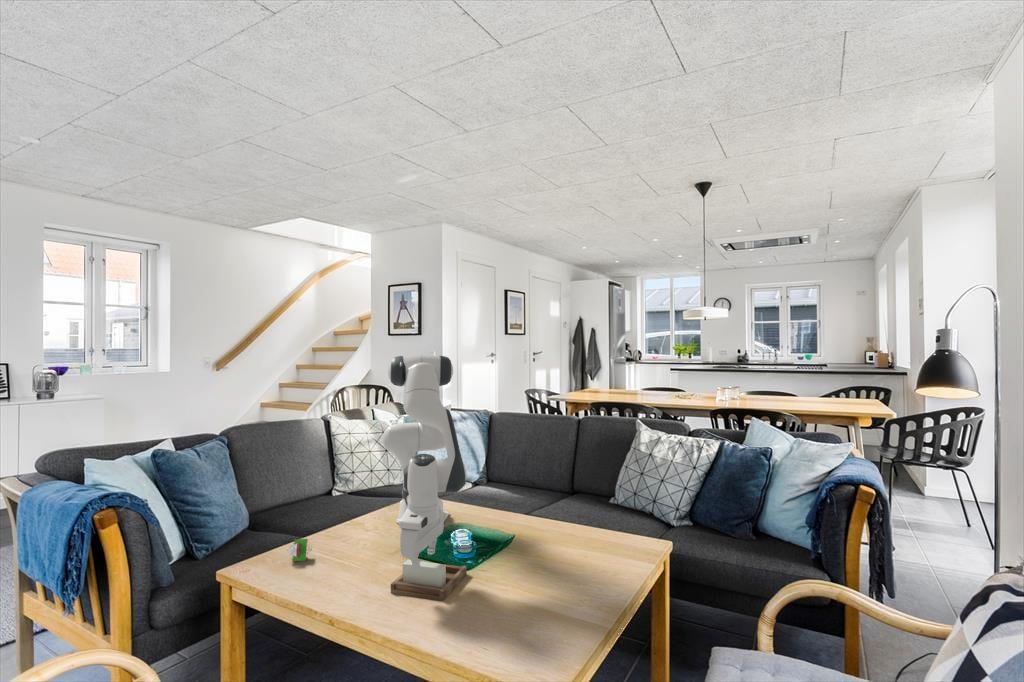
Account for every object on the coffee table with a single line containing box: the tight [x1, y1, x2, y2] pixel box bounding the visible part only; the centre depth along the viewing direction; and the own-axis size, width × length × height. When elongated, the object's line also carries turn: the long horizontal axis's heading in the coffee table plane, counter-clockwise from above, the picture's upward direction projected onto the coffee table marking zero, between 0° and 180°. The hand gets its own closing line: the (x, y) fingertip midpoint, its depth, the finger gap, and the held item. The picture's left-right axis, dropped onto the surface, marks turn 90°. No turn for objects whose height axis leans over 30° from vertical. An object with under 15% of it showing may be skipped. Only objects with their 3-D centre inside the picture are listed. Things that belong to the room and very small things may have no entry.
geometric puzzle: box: [287, 538, 313, 562], centre depth 176 cm, size 7×7×8 cm
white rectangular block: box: [402, 559, 447, 588], centre depth 155 cm, size 3×12×6 cm, turn 72°
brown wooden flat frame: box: [390, 559, 468, 602], centre depth 159 cm, size 17×16×2 cm
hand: (423, 560), depth 156 cm, fingers open, 8 cm apart
